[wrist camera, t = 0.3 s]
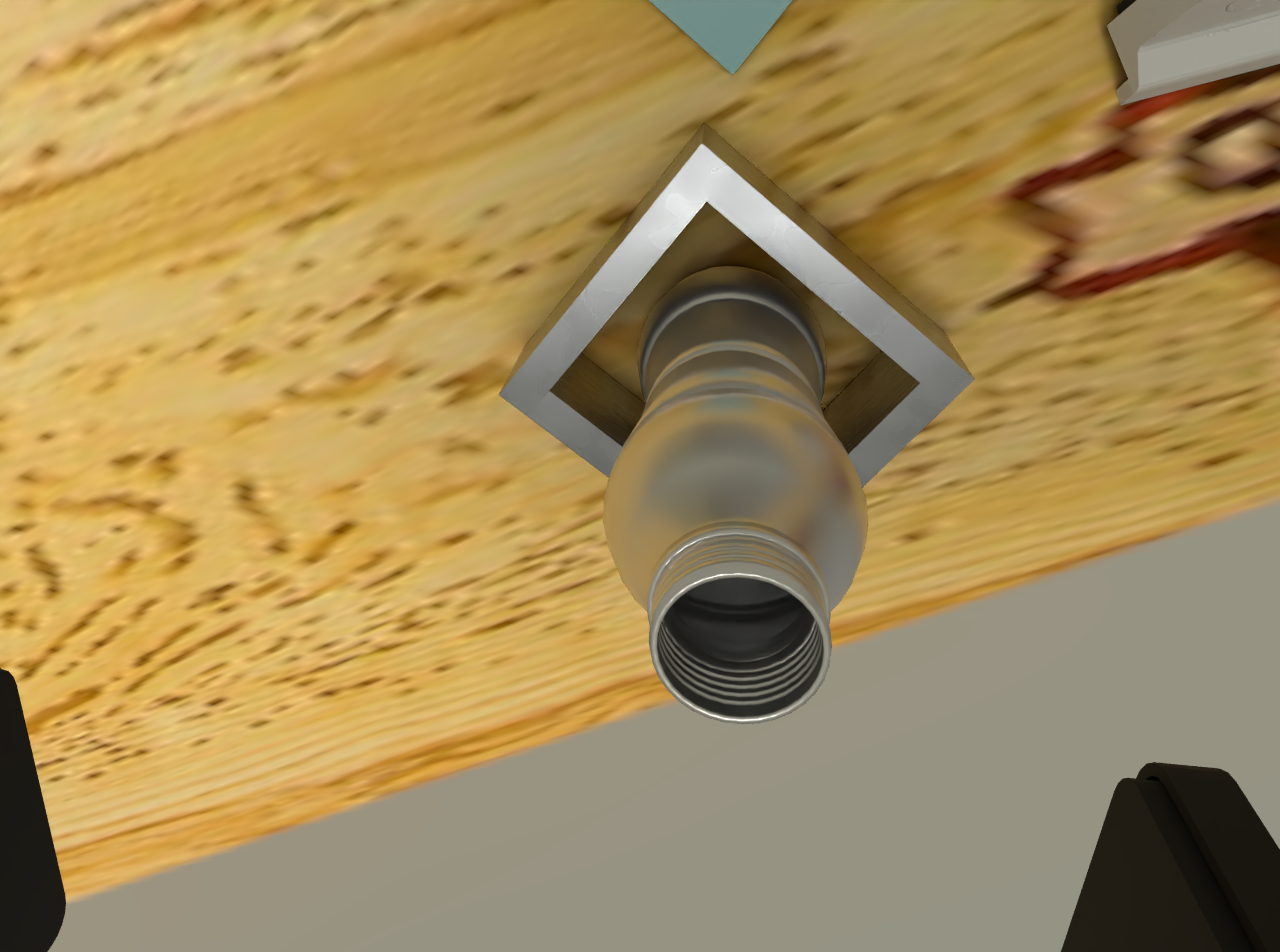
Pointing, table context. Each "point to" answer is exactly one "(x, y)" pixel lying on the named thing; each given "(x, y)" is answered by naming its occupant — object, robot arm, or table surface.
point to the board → (724, 25)
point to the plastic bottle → (735, 498)
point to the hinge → (1191, 42)
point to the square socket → (716, 173)
